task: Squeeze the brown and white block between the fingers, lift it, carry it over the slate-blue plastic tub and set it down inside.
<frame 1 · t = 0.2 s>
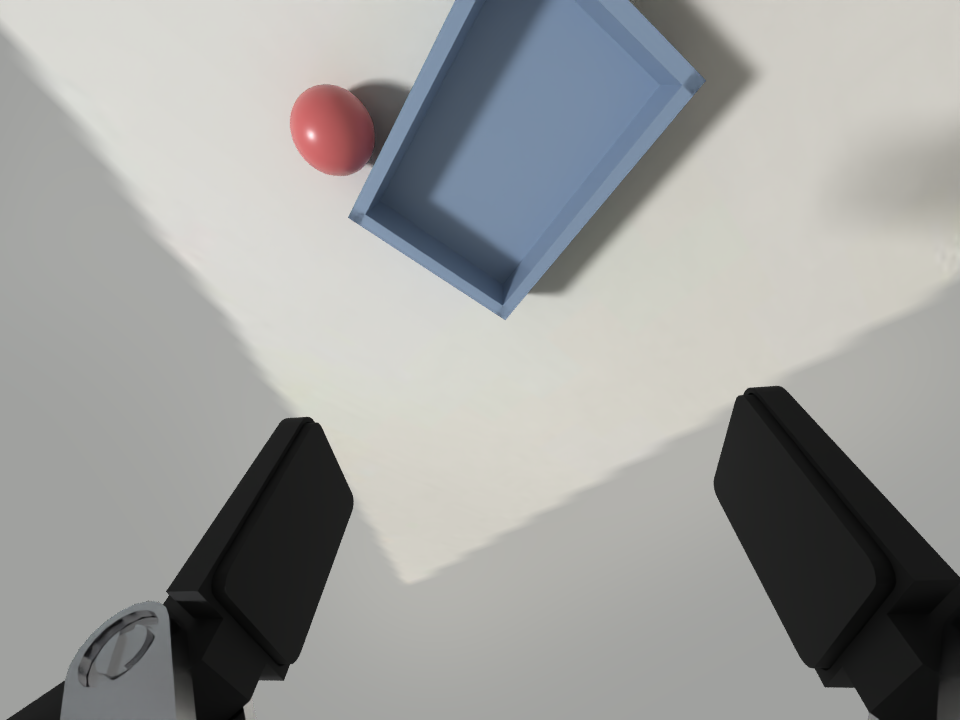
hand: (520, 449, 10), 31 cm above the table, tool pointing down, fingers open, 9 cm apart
tub: (508, 146, 33), on the table
red glossy sphere: (346, 128, 33), on the table
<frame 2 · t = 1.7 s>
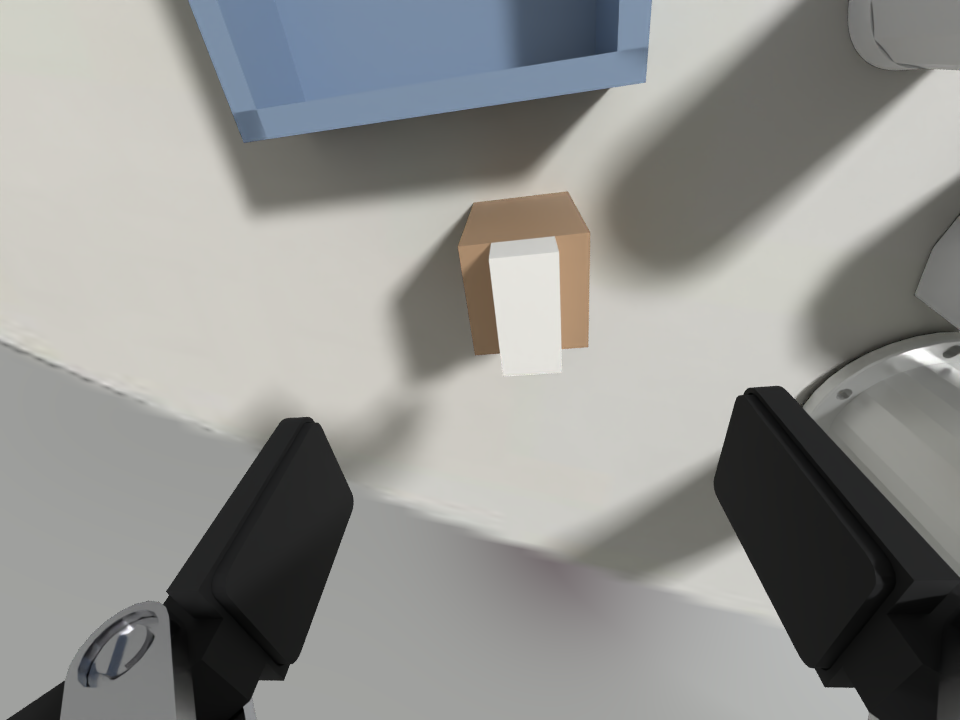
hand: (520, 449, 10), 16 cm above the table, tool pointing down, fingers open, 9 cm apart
brown and white block: (523, 243, 23), on the table
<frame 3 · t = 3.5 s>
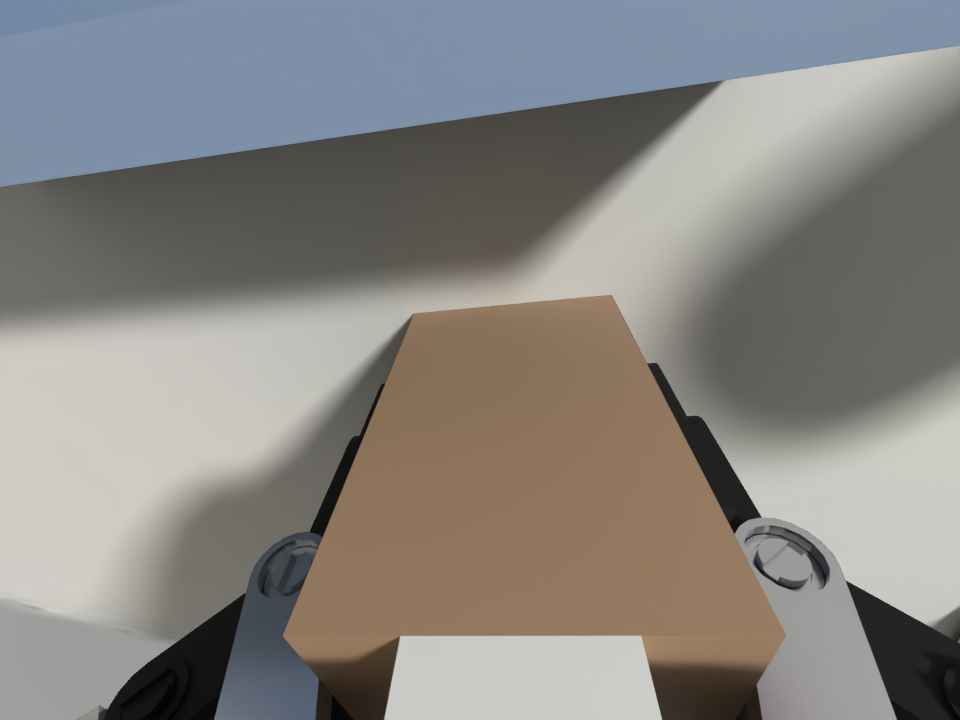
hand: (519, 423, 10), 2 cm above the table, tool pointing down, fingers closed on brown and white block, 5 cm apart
brown and white block: (517, 383, 12), on the table, touching gripper
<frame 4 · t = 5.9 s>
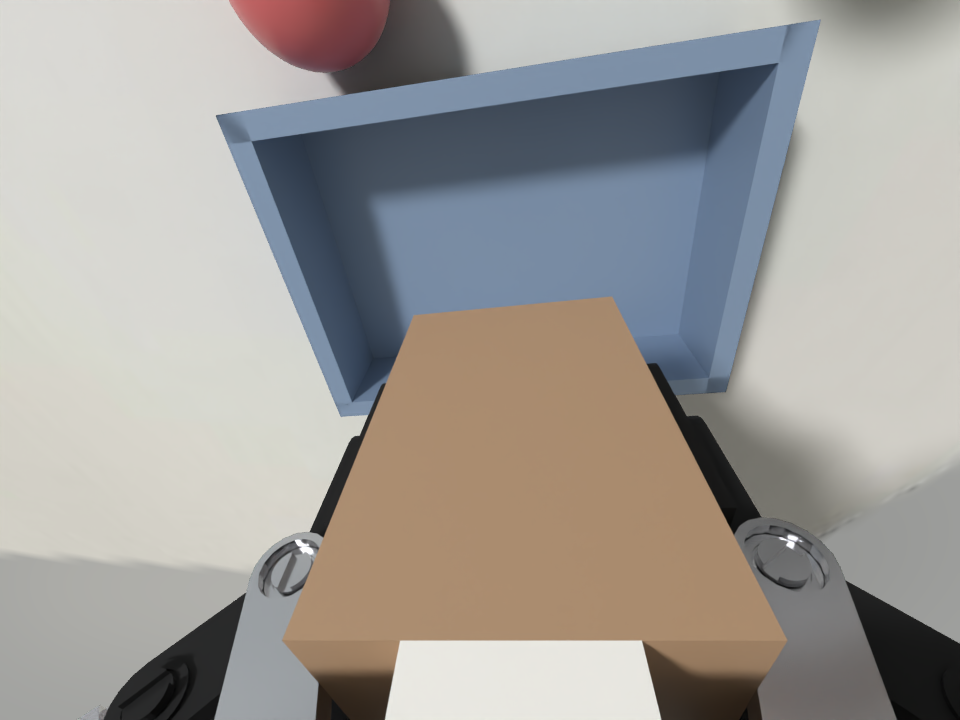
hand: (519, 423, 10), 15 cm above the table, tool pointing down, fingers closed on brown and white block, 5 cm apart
tub: (510, 238, 23), on the table
brown and white block: (517, 384, 12), point 14 cm above the table, touching gripper
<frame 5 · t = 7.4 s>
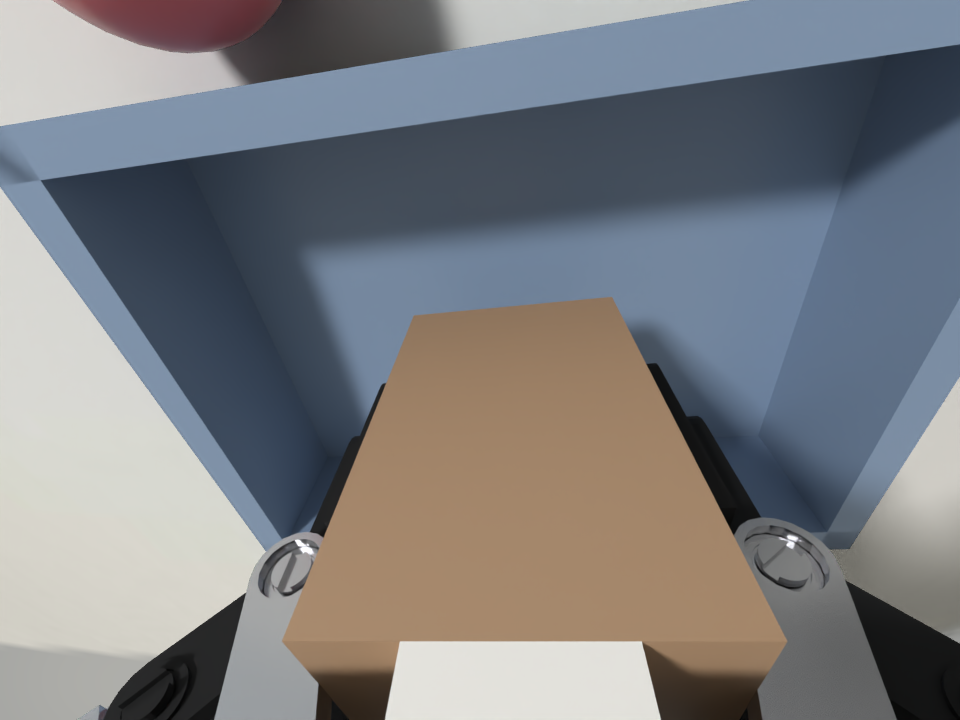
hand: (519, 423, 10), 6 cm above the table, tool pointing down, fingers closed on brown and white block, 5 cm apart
tub: (517, 304, 16), on the table
brown and white block: (517, 385, 12), point 5 cm above the table, touching gripper
when the fingers open (4 cm above the table, at t = 8.3 s): brown and white block drops 1 cm, resting on tub.
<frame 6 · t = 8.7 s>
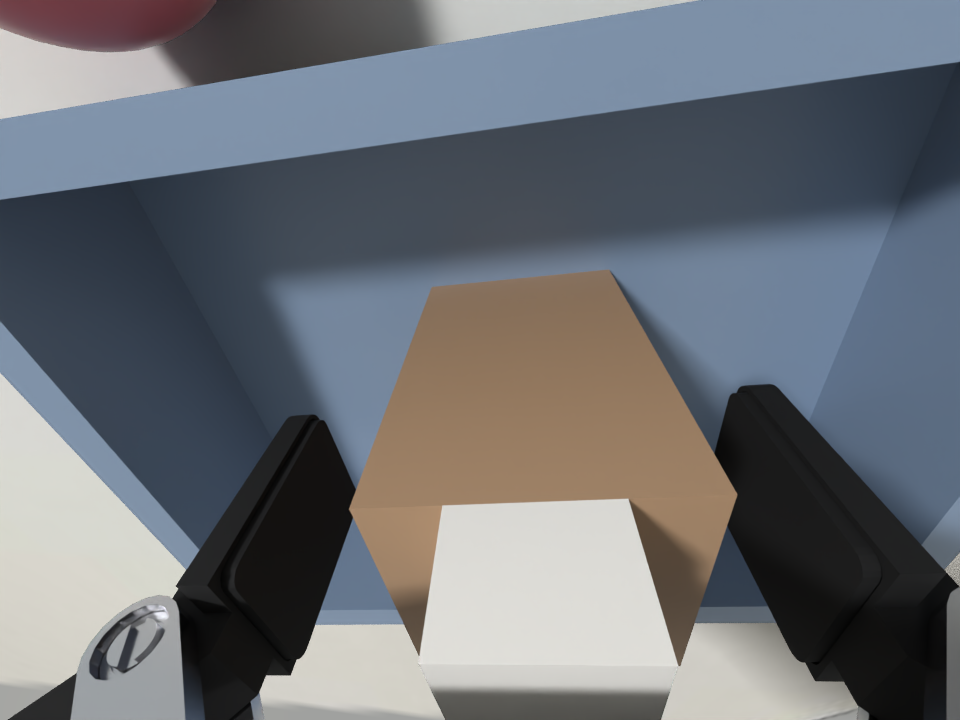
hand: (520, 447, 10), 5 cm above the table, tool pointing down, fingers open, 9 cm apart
tub: (515, 338, 14), on the table
brown and white block: (524, 352, 13), point 1 cm above the table, touching tub
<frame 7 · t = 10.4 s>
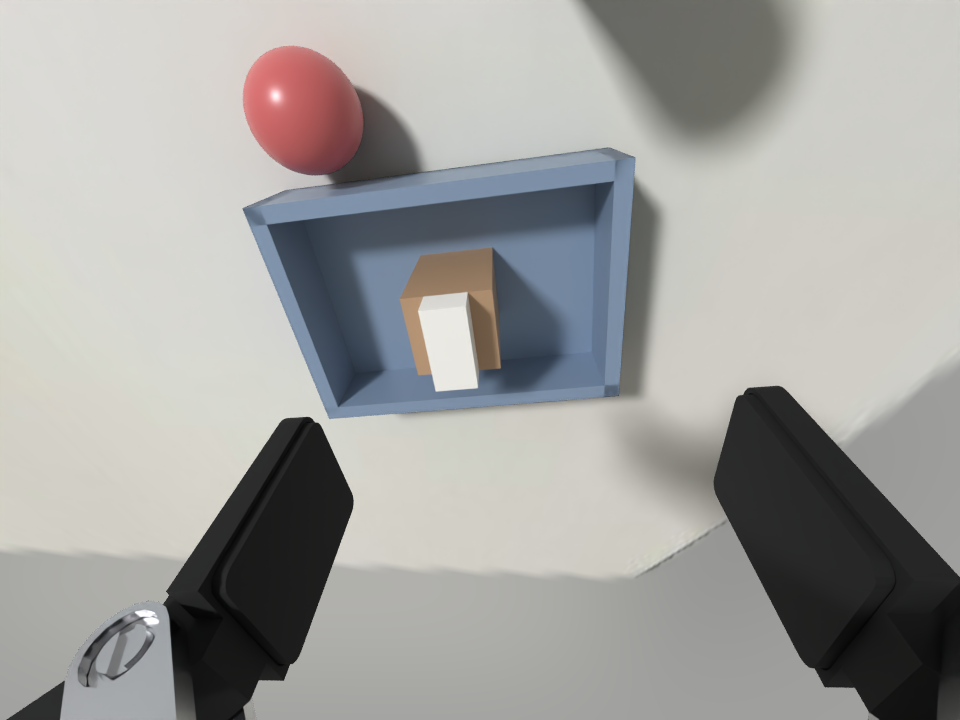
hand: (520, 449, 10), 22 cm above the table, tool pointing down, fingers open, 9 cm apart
tub: (459, 281, 30), on the table
red glossy sphere: (325, 113, 25), on the table
brown and white block: (461, 285, 29), point 1 cm above the table, touching tub
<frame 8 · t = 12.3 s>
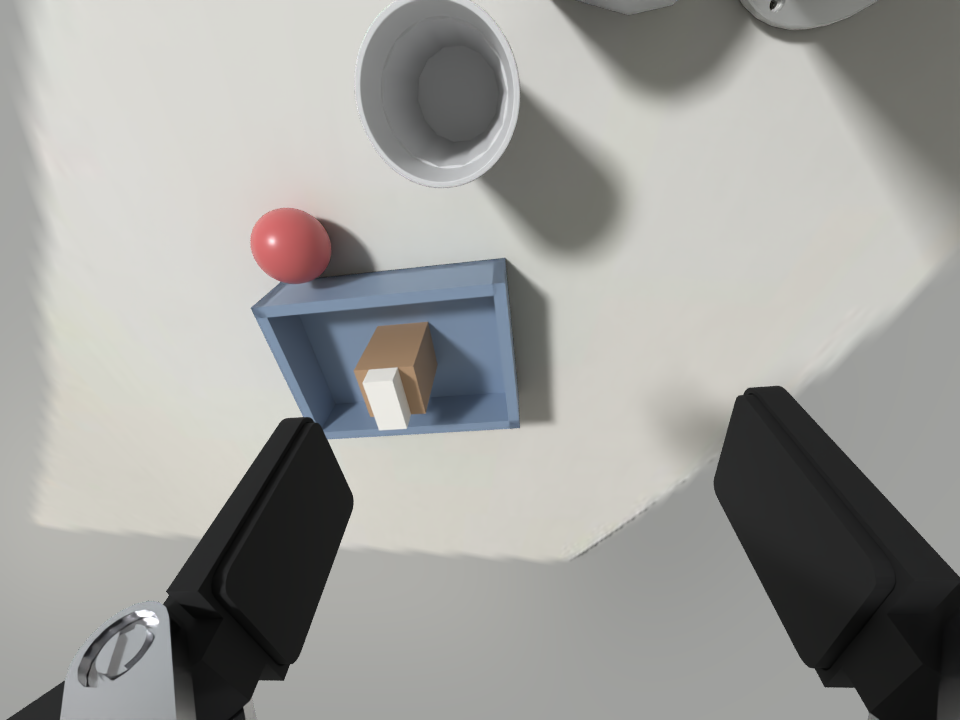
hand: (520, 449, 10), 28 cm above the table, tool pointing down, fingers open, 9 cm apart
tub: (408, 341, 41), on the table
red glossy sphere: (307, 235, 36), on the table
cup: (460, 95, 30), on the table
brown and white block: (408, 346, 41), point 1 cm above the table, touching tub
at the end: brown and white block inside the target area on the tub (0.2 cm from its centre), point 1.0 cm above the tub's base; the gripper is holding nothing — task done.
